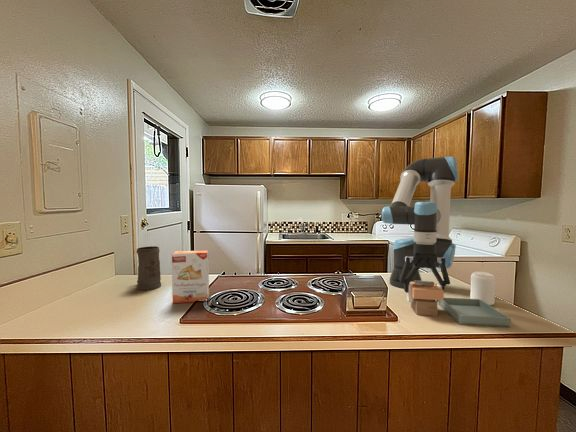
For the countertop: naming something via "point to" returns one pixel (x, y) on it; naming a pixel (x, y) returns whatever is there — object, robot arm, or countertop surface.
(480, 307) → the tray
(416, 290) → the orange square frame
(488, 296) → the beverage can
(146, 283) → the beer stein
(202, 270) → the cracker box
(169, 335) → the countertop surface
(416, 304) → the block
